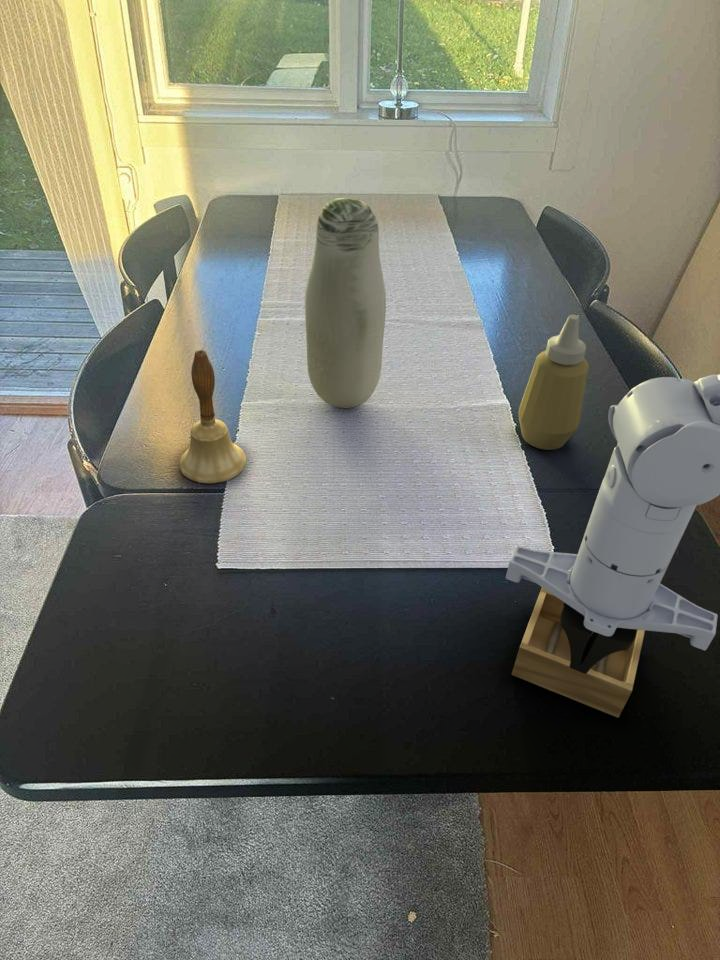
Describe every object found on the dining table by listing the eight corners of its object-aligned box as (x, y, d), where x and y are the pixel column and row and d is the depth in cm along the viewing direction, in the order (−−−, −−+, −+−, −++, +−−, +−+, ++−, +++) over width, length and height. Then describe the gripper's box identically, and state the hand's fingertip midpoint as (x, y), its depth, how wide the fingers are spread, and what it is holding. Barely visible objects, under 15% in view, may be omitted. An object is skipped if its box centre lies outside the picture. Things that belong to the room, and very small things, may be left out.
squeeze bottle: (569, 422, 97) (603, 303, 86) (577, 459, 91) (614, 336, 79) (511, 417, 98) (536, 298, 86) (515, 453, 92) (542, 331, 80)
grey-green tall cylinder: (294, 395, 100) (287, 196, 82) (350, 372, 105) (355, 180, 87) (336, 428, 95) (338, 223, 76) (393, 403, 100) (408, 204, 81)
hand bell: (220, 434, 93) (207, 327, 83) (259, 464, 89) (250, 354, 78) (166, 461, 89) (145, 351, 78) (205, 493, 84) (187, 381, 74)
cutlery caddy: (618, 718, 63) (632, 691, 60) (511, 674, 66) (519, 647, 63) (633, 651, 69) (646, 623, 66) (533, 614, 72) (542, 586, 69)
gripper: (507, 547, 47) (479, 664, 56) (737, 627, 43) (667, 740, 51) (534, 485, 52) (504, 602, 61) (744, 551, 47) (678, 667, 56)
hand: (580, 661), depth 56 cm, fingers closed
